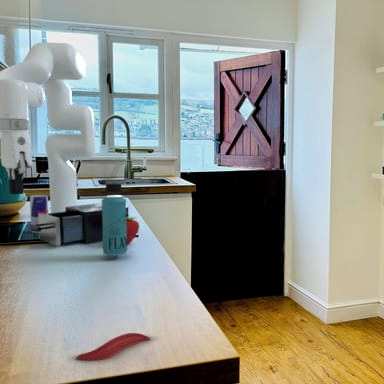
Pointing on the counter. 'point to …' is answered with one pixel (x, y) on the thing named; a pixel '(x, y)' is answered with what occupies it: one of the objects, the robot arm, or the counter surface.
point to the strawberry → (131, 228)
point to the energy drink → (38, 208)
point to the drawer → (60, 227)
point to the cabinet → (91, 221)
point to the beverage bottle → (114, 221)
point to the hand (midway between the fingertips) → (16, 193)
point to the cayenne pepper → (113, 346)
